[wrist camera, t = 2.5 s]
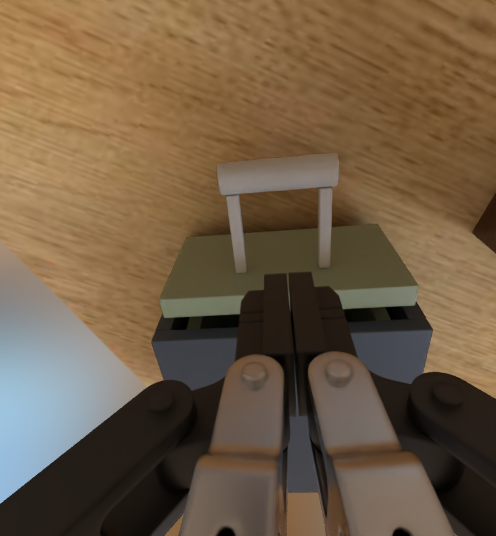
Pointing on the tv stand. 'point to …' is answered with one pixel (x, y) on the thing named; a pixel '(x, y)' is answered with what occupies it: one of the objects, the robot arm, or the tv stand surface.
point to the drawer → (285, 251)
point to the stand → (488, 226)
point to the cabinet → (223, 356)
